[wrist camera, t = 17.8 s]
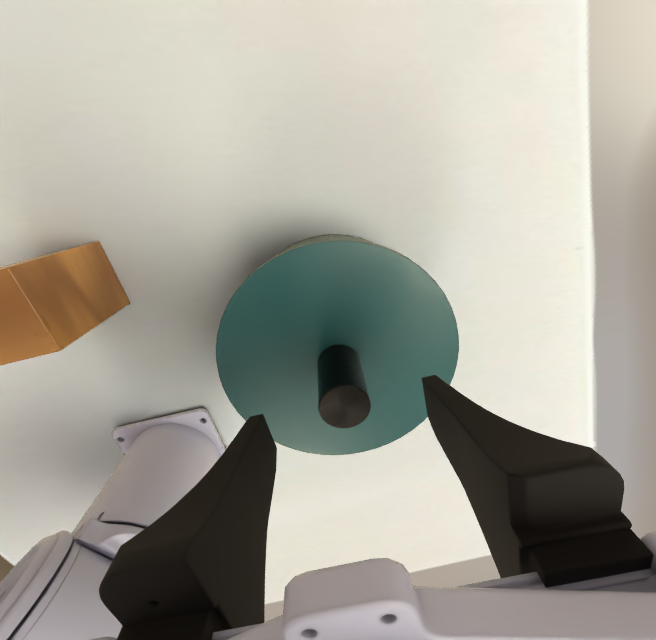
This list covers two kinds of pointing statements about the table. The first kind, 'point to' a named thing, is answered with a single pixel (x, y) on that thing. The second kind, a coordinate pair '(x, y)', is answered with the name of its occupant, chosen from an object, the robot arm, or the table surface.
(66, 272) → the maple block
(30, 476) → the table surface
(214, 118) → the table surface
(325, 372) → the pot lid
